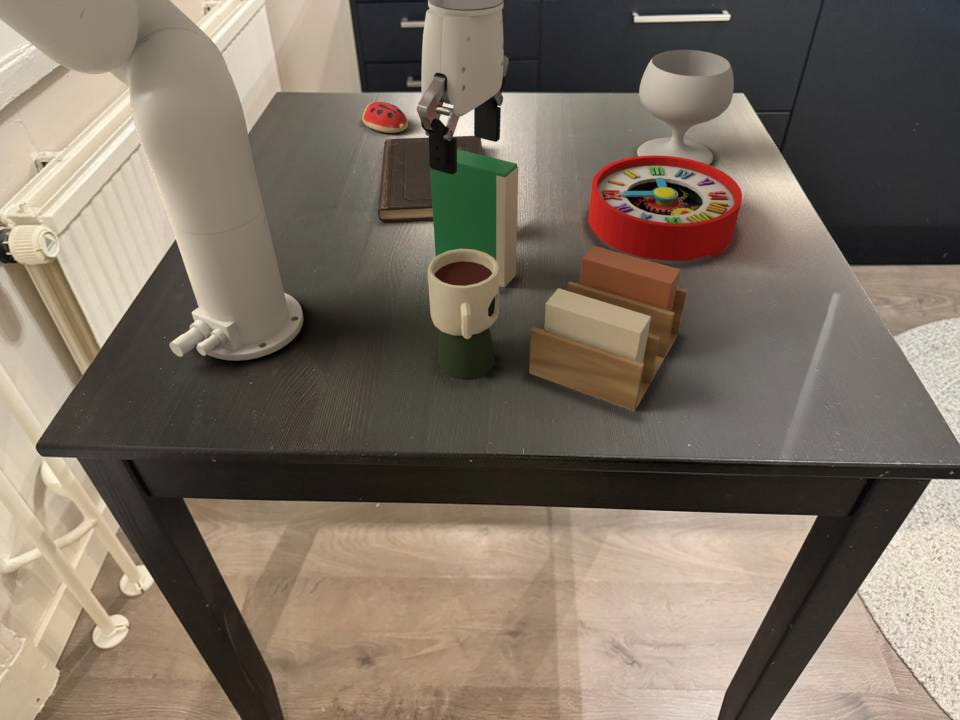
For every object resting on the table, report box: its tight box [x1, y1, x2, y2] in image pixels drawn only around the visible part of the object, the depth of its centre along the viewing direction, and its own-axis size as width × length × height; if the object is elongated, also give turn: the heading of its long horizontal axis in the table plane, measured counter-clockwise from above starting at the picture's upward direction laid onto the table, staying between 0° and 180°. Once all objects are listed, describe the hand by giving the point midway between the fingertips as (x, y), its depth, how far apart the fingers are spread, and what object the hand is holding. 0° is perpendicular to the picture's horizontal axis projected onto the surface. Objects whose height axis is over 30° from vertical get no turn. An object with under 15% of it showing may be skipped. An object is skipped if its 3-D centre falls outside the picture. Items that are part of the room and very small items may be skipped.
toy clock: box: [587, 155, 743, 262], centre depth 100 cm, size 20×6×20 cm
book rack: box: [528, 281, 689, 412], centre depth 79 cm, size 14×12×7 cm
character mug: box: [427, 249, 500, 380], centre depth 76 cm, size 11×7×13 cm, turn 4°
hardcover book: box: [377, 135, 484, 223], centre depth 112 cm, size 16×23×2 cm
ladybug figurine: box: [361, 101, 409, 134], centre depth 128 cm, size 7×10×4 cm
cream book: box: [543, 287, 651, 363], centre depth 75 cm, size 3×10×9 cm, turn 60°
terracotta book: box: [579, 245, 681, 312], centre depth 81 cm, size 3×10×9 cm, turn 61°
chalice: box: [636, 49, 735, 165], centre depth 113 cm, size 14×14×15 cm
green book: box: [430, 149, 519, 288], centre depth 88 cm, size 3×10×16 cm, turn 61°
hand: (466, 154), depth 82 cm, fingers open, 9 cm apart
